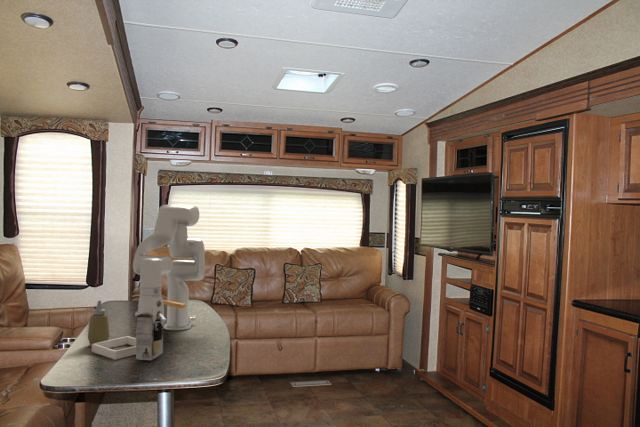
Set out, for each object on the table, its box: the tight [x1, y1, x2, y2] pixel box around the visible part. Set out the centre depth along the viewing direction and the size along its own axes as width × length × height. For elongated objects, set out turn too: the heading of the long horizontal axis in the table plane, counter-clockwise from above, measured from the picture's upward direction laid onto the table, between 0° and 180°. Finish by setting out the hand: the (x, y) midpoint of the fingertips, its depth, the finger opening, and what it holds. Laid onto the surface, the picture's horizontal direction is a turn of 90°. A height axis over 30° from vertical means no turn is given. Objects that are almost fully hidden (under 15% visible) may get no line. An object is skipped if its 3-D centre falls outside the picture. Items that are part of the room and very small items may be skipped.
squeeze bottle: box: [87, 300, 110, 347], centre depth 198 cm, size 8×8×18 cm
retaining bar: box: [163, 298, 186, 309], centre depth 197 cm, size 21×3×2 cm, turn 54°
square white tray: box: [91, 335, 136, 361], centre depth 194 cm, size 23×16×17 cm
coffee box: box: [135, 314, 164, 361], centre depth 182 cm, size 9×6×16 cm
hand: (149, 338), depth 182 cm, fingers closed on coffee box, 8 cm apart
